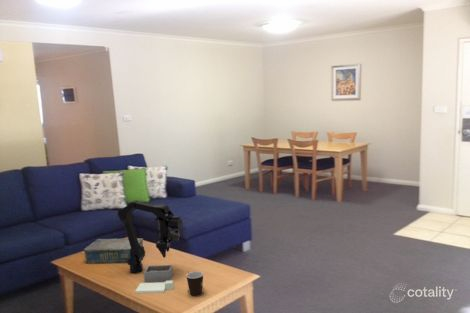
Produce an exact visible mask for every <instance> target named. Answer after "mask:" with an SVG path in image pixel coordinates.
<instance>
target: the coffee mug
mask: <svg viewBox="0 0 470 313" xmlns="http://www.w3.org/2000/svg"><path fill="white" fill-rule="evenodd" d="M186 280H187V286H188V287H187V288H188V290H189V295H190V296H191V297H199V296H202V294H203V288H204V287H203V284H204V273H203V272H202V271H198V270H197V271H191V272H188V273H186Z"/></svg>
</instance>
